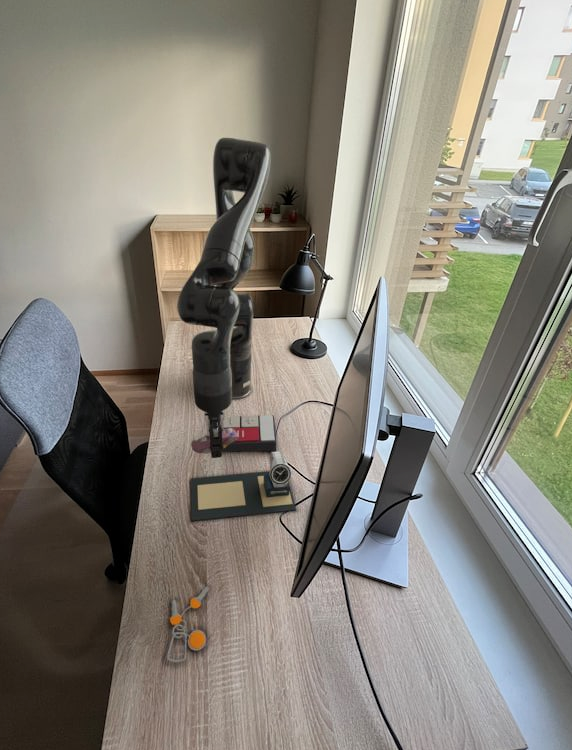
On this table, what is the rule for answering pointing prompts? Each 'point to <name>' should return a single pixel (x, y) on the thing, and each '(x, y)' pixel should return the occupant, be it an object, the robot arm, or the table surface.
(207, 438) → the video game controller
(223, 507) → the desk mat
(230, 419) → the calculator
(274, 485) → the watch
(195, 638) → the key chain
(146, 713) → the table surface
